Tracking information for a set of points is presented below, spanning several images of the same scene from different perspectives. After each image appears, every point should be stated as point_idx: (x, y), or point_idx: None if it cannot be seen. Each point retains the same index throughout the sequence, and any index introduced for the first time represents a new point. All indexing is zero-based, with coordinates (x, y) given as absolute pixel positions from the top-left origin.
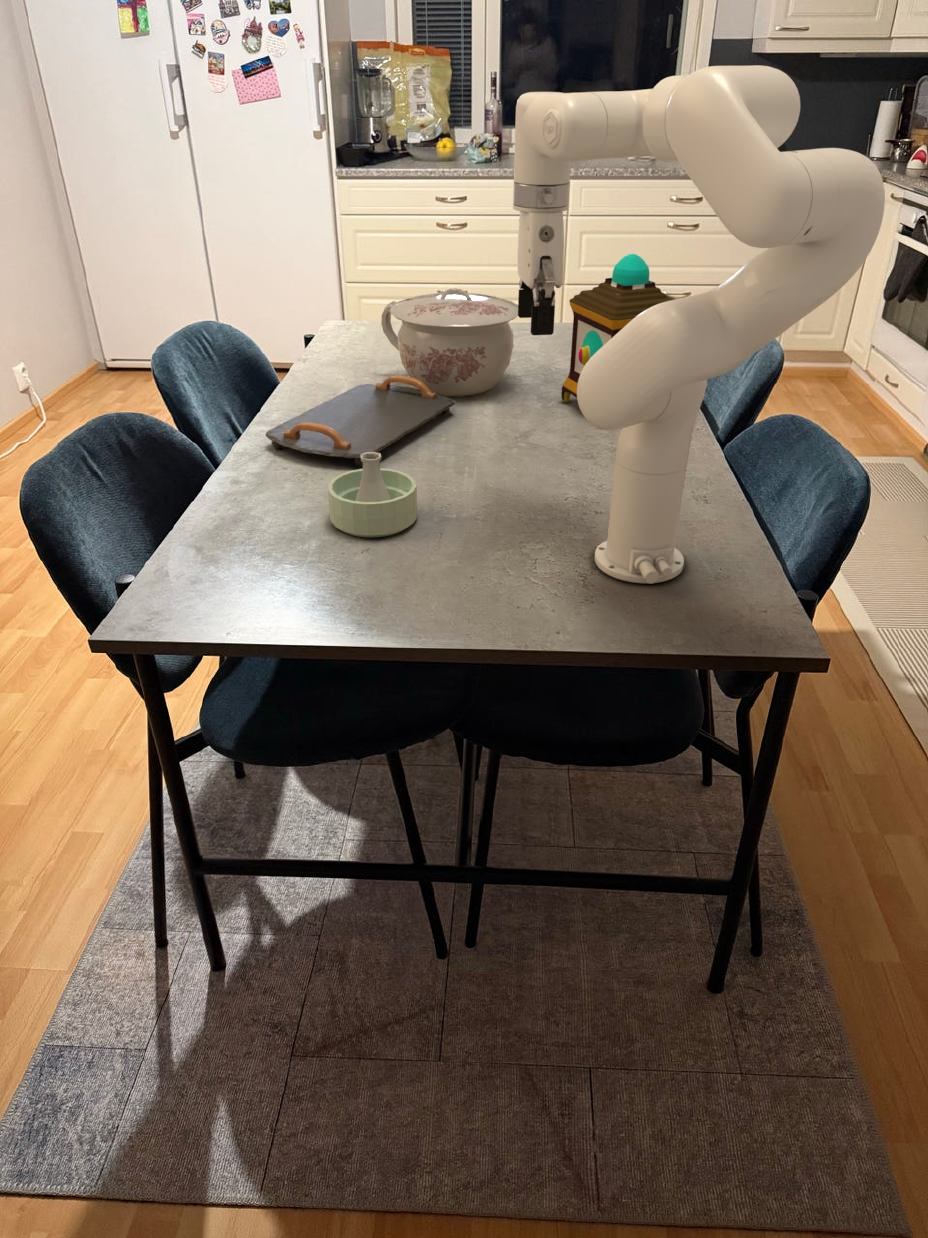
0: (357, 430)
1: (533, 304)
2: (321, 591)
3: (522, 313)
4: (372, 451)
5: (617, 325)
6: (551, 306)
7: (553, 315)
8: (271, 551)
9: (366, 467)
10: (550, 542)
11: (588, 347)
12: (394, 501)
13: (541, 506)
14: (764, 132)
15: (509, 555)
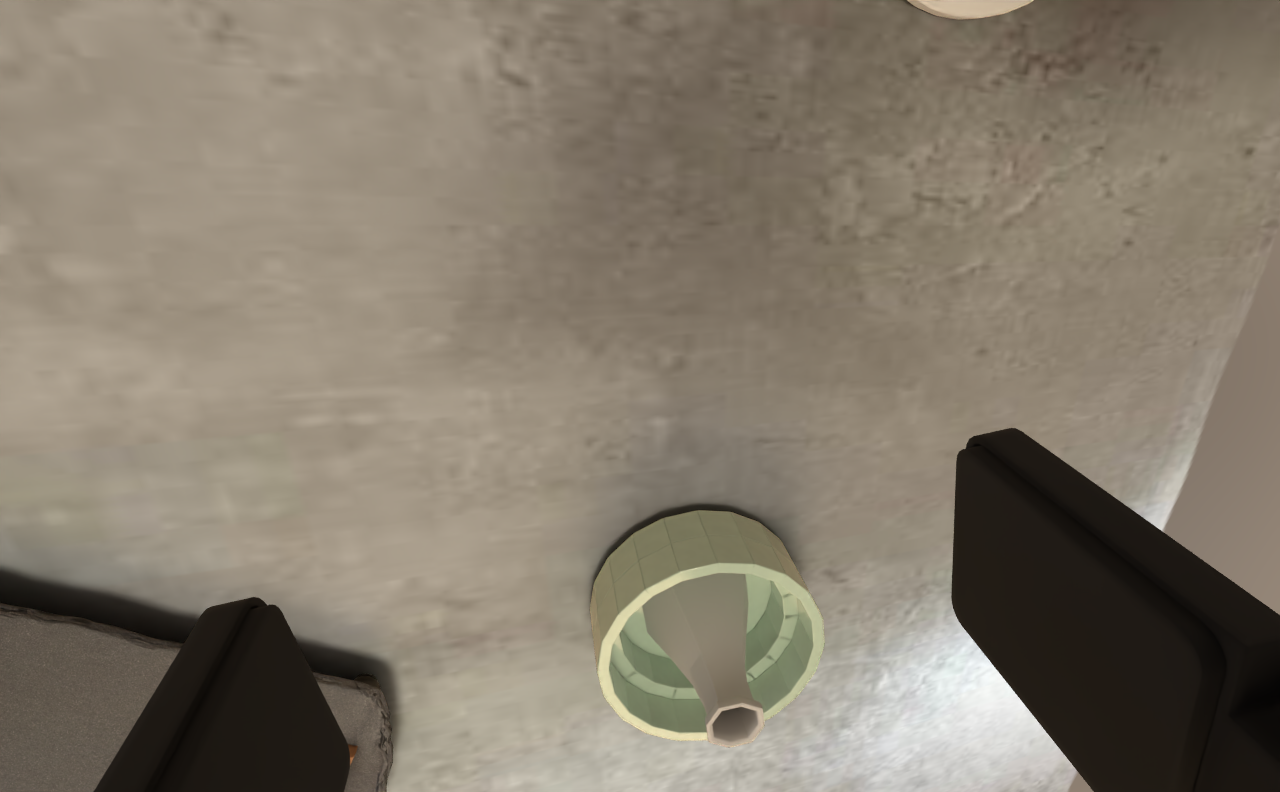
0: None
1: (247, 773)
2: None
3: (330, 768)
4: (352, 690)
5: None
6: (1271, 664)
7: (1160, 545)
8: (823, 721)
9: (748, 709)
10: (827, 152)
11: None
12: (809, 593)
13: (582, 173)
14: None
15: (889, 268)
